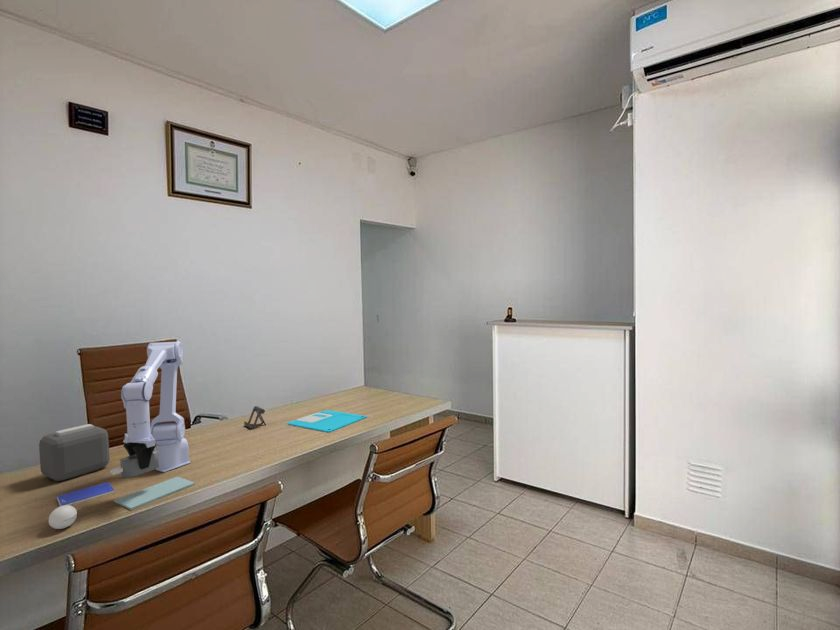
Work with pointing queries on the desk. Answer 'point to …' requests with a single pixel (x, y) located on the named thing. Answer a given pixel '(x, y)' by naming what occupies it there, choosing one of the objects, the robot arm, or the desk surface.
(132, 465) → the plug
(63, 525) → the white egg
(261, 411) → the portable electronic device stand
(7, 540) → the desk surface
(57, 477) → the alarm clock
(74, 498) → the hard drive
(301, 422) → the square teal disk
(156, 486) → the mat
